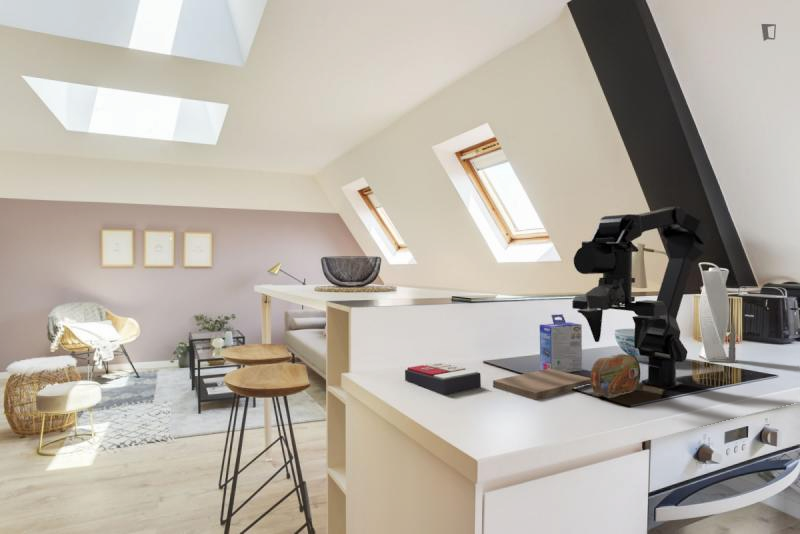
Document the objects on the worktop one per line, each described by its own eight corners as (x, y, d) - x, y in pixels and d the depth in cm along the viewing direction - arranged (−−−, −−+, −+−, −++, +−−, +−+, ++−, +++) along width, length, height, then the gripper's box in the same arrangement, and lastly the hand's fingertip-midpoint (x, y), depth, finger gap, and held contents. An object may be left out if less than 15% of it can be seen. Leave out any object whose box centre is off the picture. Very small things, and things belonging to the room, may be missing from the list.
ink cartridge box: (568, 366, 132) (569, 313, 131) (583, 371, 127) (583, 315, 126) (538, 369, 128) (538, 314, 128) (551, 374, 123) (552, 317, 123)
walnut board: (548, 374, 123) (549, 368, 123) (591, 385, 113) (591, 378, 113) (493, 386, 111) (493, 380, 111) (535, 399, 102) (535, 392, 102)
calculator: (439, 361, 123) (481, 369, 111) (440, 378, 123) (481, 388, 111) (404, 366, 117) (443, 376, 105) (404, 384, 117) (444, 396, 105)
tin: (600, 401, 101) (601, 361, 101) (587, 397, 104) (588, 358, 103) (641, 390, 109) (642, 353, 109) (628, 387, 112) (629, 350, 112)
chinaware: (682, 365, 134) (683, 337, 133) (627, 365, 134) (628, 336, 134) (655, 353, 149) (655, 328, 148) (605, 353, 149) (605, 328, 149)
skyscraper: (704, 361, 138) (706, 262, 137) (692, 355, 146) (693, 262, 145) (737, 362, 137) (739, 262, 136) (723, 356, 145) (725, 262, 144)
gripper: (557, 272, 109) (556, 342, 109) (639, 276, 93) (638, 357, 94) (587, 271, 115) (586, 337, 116) (668, 274, 100) (667, 350, 100)
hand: (616, 344), depth 106 cm, fingers open, 9 cm apart
